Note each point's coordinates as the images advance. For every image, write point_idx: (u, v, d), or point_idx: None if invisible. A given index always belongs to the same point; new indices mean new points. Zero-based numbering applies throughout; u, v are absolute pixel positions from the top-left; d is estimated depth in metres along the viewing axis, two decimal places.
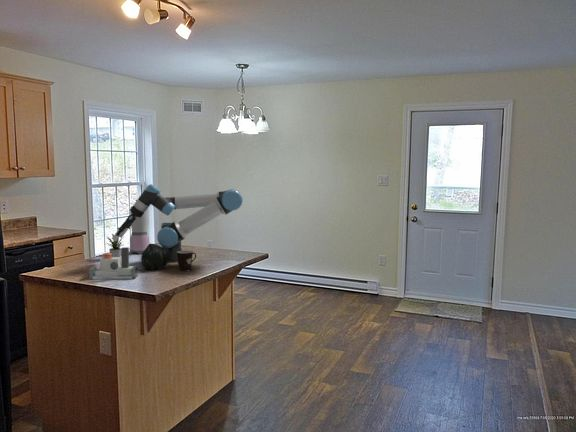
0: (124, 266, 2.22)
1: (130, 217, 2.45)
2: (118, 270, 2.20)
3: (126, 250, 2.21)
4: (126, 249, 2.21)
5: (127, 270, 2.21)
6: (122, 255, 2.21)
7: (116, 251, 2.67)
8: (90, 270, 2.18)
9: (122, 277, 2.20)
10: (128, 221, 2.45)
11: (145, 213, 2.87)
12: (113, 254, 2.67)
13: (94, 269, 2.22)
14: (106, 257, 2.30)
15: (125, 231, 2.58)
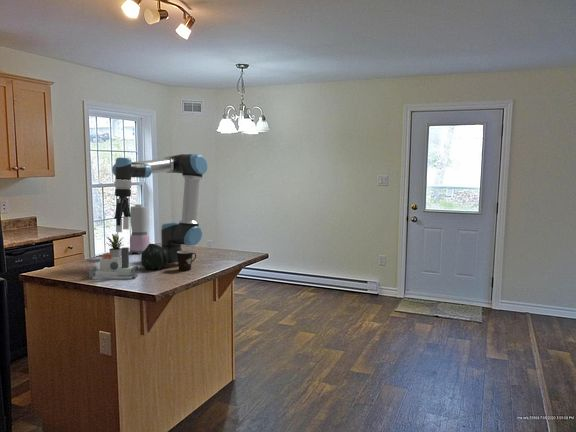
0: (124, 266, 2.22)
1: (119, 200, 2.15)
2: (118, 270, 2.20)
3: (126, 250, 2.21)
4: (126, 249, 2.21)
5: (127, 270, 2.21)
6: (122, 255, 2.21)
7: (116, 251, 2.67)
8: (90, 270, 2.18)
9: (122, 277, 2.20)
10: (119, 205, 2.15)
11: (145, 213, 2.87)
12: (113, 254, 2.67)
13: (94, 269, 2.22)
14: (106, 257, 2.30)
15: (127, 220, 2.29)
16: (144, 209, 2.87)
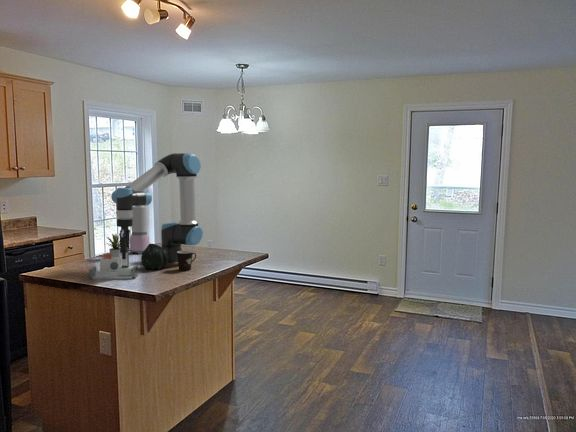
0: (124, 266, 2.22)
1: (121, 235, 2.15)
2: (118, 270, 2.20)
3: None
4: None
5: (127, 270, 2.21)
6: None
7: (116, 251, 2.67)
8: (90, 270, 2.18)
9: (122, 277, 2.20)
10: (123, 239, 2.16)
11: (145, 213, 2.87)
12: (113, 254, 2.67)
13: (94, 269, 2.22)
14: (106, 257, 2.30)
15: None
16: (144, 209, 2.87)
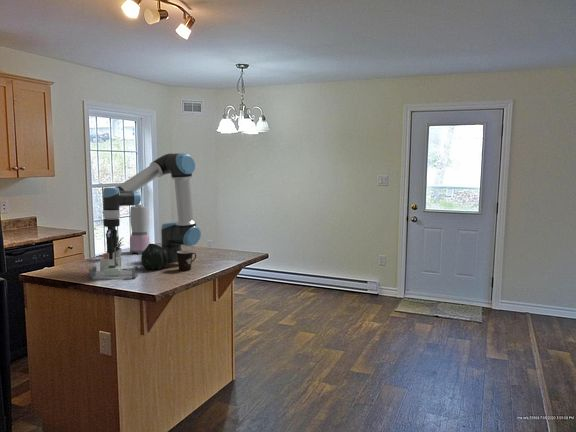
0: (111, 266, 2.21)
1: (108, 235, 2.15)
2: (105, 270, 2.19)
3: None
4: None
5: (114, 270, 2.20)
6: None
7: (116, 251, 2.67)
8: (90, 270, 2.18)
9: (122, 277, 2.20)
10: (109, 239, 2.16)
11: (145, 213, 2.87)
12: None
13: (94, 269, 2.22)
14: (106, 257, 2.30)
15: None
16: (144, 209, 2.87)
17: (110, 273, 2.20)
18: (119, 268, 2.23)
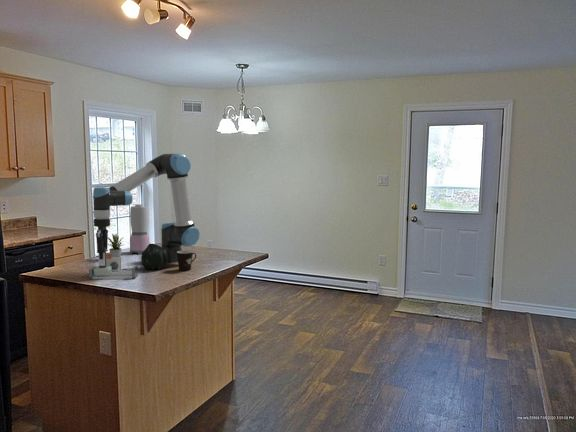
0: (101, 266, 2.21)
1: (98, 235, 2.14)
2: (95, 270, 2.19)
3: None
4: None
5: (104, 270, 2.19)
6: None
7: (116, 251, 2.67)
8: (90, 270, 2.18)
9: (122, 277, 2.20)
10: (99, 239, 2.15)
11: (145, 213, 2.87)
12: (113, 254, 2.67)
13: None
14: (106, 257, 2.30)
15: None
16: (144, 209, 2.87)
17: (100, 273, 2.20)
18: (109, 268, 2.22)
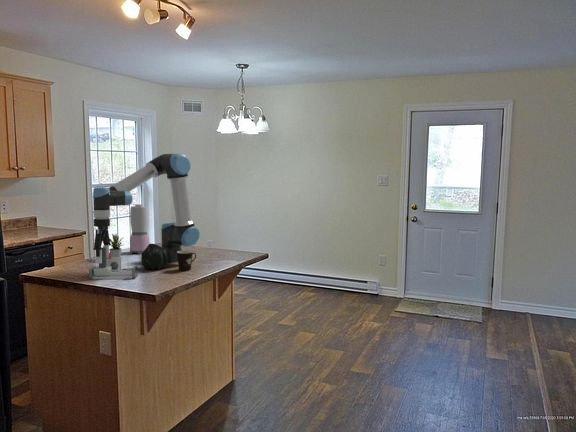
0: (101, 266, 2.20)
1: (97, 231, 2.13)
2: (95, 270, 2.19)
3: (103, 250, 2.20)
4: (103, 249, 2.20)
5: (104, 270, 2.19)
6: None
7: (116, 251, 2.67)
8: (90, 270, 2.18)
9: (122, 277, 2.20)
10: (98, 236, 2.13)
11: (145, 213, 2.87)
12: (113, 254, 2.67)
13: None
14: None
15: (107, 249, 2.27)
16: (144, 209, 2.87)
17: (100, 273, 2.20)
18: (109, 268, 2.22)
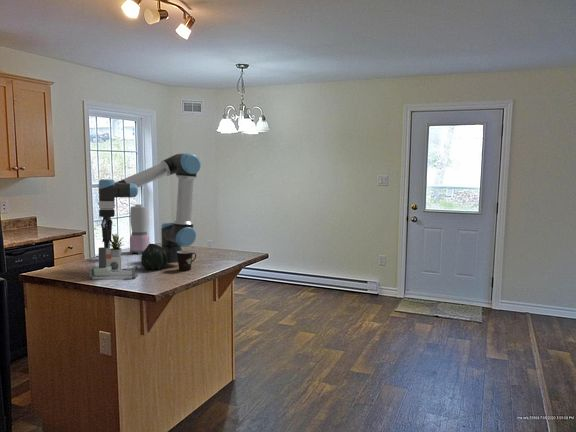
0: (101, 266, 2.20)
1: (103, 225, 2.24)
2: (95, 270, 2.19)
3: (103, 250, 2.20)
4: (103, 249, 2.20)
5: (104, 270, 2.19)
6: (99, 255, 2.20)
7: (116, 251, 2.67)
8: (90, 270, 2.18)
9: (122, 277, 2.20)
10: (105, 229, 2.25)
11: (145, 213, 2.87)
12: (113, 254, 2.67)
13: None
14: (106, 258, 2.30)
15: None
16: (144, 209, 2.87)
17: (100, 273, 2.20)
18: (109, 268, 2.22)
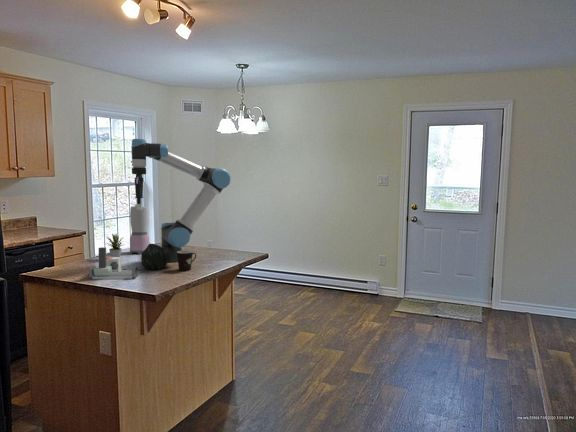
0: (101, 266, 2.20)
1: (136, 182, 2.38)
2: (95, 270, 2.19)
3: (103, 250, 2.20)
4: (103, 249, 2.20)
5: (104, 270, 2.19)
6: (99, 255, 2.20)
7: (116, 251, 2.67)
8: (90, 270, 2.18)
9: (122, 277, 2.20)
10: (138, 186, 2.40)
11: (145, 213, 2.87)
12: (113, 254, 2.67)
13: None
14: None
15: None
16: (144, 209, 2.87)
17: (100, 273, 2.20)
18: (109, 268, 2.22)
